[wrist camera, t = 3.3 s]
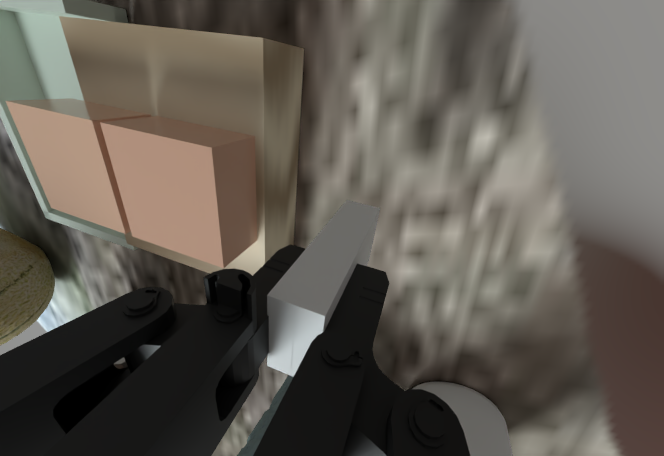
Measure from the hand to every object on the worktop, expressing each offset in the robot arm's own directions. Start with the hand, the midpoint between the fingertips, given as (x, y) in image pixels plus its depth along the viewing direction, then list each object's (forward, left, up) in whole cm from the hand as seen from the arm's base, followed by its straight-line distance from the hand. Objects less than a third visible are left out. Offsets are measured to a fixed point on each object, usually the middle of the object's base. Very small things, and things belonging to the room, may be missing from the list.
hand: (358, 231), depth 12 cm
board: (0, -11, -5) cm, 13 cm away
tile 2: (0, -15, -1) cm, 16 cm away
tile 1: (0, -9, -1) cm, 9 cm away
